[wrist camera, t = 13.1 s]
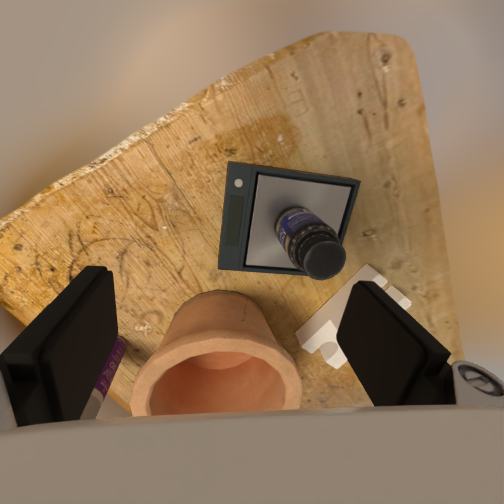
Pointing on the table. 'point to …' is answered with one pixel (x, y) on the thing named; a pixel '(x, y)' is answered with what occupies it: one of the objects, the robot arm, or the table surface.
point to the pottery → (217, 362)
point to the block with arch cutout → (339, 318)
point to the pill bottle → (310, 243)
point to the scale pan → (280, 200)
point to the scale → (241, 207)
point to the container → (104, 380)
